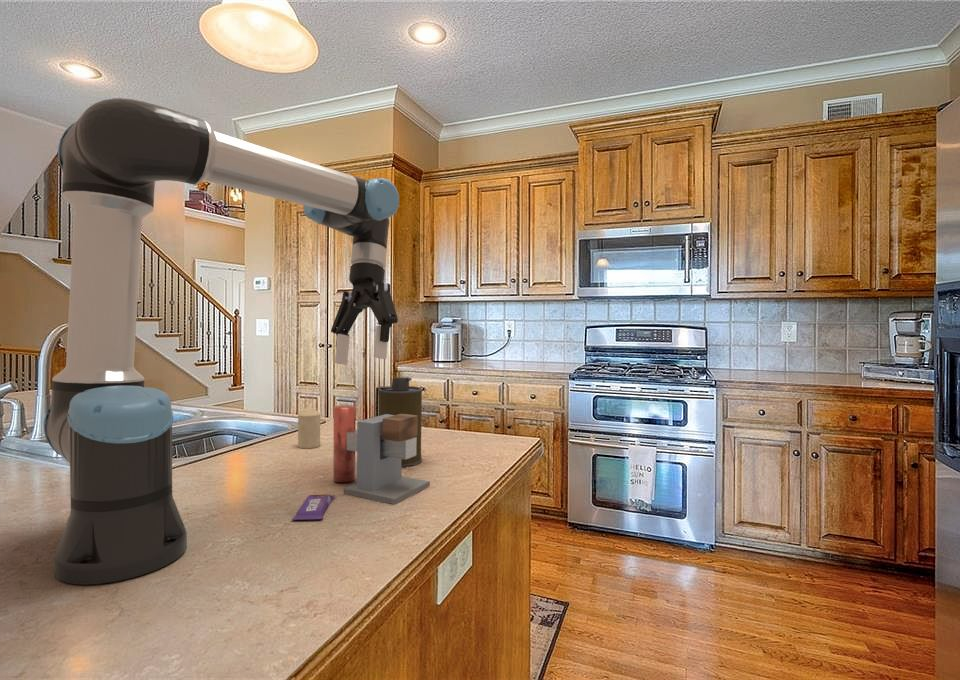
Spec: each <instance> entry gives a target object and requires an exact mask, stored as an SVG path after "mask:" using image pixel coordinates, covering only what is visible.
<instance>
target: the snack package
mask: <svg viewBox="0 0 960 680" xmlns="http://www.w3.org/2000/svg"><path fill="white" fill-rule="evenodd" d="M335 497H336V495H334V494H333V495H332V494H308V496H307V497H306V498H305V500H304V501H303V502H302V504H301V506H299V509H298V510H297V512H296V514H295V515H294V516H293V517H292V519H291V520H292V521H294V520H295V521H297V520H303V521H304V520H323V518H324V515H325V513H326V512H327V510H328V508H329V506H330V504H331V503H332V500H333V499H334V498H335Z"/></svg>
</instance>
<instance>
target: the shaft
mask: <svg viewBox="0 0 960 680" xmlns="http://www.w3.org/2000/svg"><path fill="white" fill-rule="evenodd" d="M356 410H357V409H356V405H353V404H352V405H351V404H349V405H348V404H344V405H343V404H342V405H341V404H340V405H336V406H333V446H332V447H333V448H332V449H333V455H332V456H333V457H332V458H333V459H332V460H333V468H332V469H333V471H332V473H333V481H334V482H338V483H339V482H340V483H344V482H345V483H347V482H352V481H354V480H355V479H356V453H357V429H356V422H357V421H356V416H357V415H356V412H357V411H356ZM416 443H417V437H412V438H409V439H406V440H403V441H400V442H398V441H391V440H384V439H382V434H381V435H380V456H386V457H392V458H399V459H405V460H406V459H409V458H411V457H414V456H416Z"/></svg>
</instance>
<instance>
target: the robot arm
mask: <svg viewBox="0 0 960 680" xmlns="http://www.w3.org/2000/svg"><path fill="white" fill-rule="evenodd" d="M57 158H58V163H59V167H60V168H61V171H62V184H61V185H62V188H61V189H62V190H61V197H62V198H63V199H64V200H65V201H66V202H67V203H68V204H69V205H70V206H71V207H72V209H73V227H72V244H71V245H72V246H71V261H70V265H71V266H70V283H69V286H70V287H69V301H68V321H67V322H68V323H67V336H66V337H67V338H66V339H67V340H66V341H67V342H66V356H65V361H66V362H65V367H64V368H63V369H62V370H60V371H59V372H58V373H57V374H55V375H54V376H53V377H52V381H51V394H50V395H51V397H50V405H49V406H48V409H47V411H45V416H44V418H43V434H44V437H45V439H46V442H47V443H48V445H49V447H51V449H52V450H53V451H54V452H55V453H56V454H57V455H59V456H60V457H62V458H63V459H64V460H66V461H67V462H68V463H69V487H70V491H69V492H70V495H69V496H70V511H69V516H68V518H67V521H66V524H65V527H64V530H63V532H62V534H61V535H62V536H61V538H60V540H59V544H58V546H57V548H56V551H55V554H54V558H53V559H54V562H53V563H54V564H53V566H54V567H53V568H54V576H55V578H56V579H58V580H59V581H61V582H63V583H67V584H73V585H101V584H107V583H116V582H120V581H126V580H129V579H132V578H136V577H140V576H143V575H146V574H149V573H152V572H155V571H157V570H159V569H161V568H164V567H166V566H168V565H169V564H172V563H173V562H175V561H176V560H177V559H179V558H180V557H181V556H182V555H183V554H184V553H185V552H186V550H187V548H188V545H187V543H188V539H187V537H188V534H187V529H186V526H185V524H184V521H183V519H182V516H181V514H180V511H179V509H178V506H177V503H176V501H175V498H174V495H173V421H174V412H173V410H172V402H171V398H170V396H169V395H168V394H167V393H166V392H165V391H163V390H160V389H158V388H155V387H149V386H146V387H145V377H144V376H143V375H142V374H141V373H140V372H139V371H138V370H137V369H136V368H135V355H136V353H135V352H136V332H137V331H136V330H137V317H138V316H137V315H138V297H139V279H140V277H139V275H140V260H141V259H140V256H141V238H142V237H141V236H142V220H143V219H144V218H145V217H146V216H147V215H149V214H151V213H152V212H154V208H155V207H154V204H155V202H154V201H155V190H156V189H155V185H156V182H160V181H172V182H179V183H186V184H189V185H195V186H198V185H199V184H201V183H202V182H208V183H213V184H216V185H217V184H218V185H222V186H226V187H228V188H229V187H230V188H233V189H238V190H241V191H246V192H250V193H253V194H257V195H258V194H259V195H262V196H264V197H265V196H266V197H270V198H274V199H278V200H282V201H287V202H290V203H293V204H294V203H295V204H297V205H303V206H302V208H303V209H302V210H303V213H304V215H305V217H306V218H307V219H309V220H311V221H312V222H315V223H317V224H319V225H322V226H325V227H327V228H329V229H332V230H335V231H338V232H340V233H343V234H345V235H347V236H349V237H352V248H351V254H350V264H351V266H350V268H349V276H348V280H349V283H351V285H352V290H351V291H350V292H349V291H345V290H344V291H343V293H342V297H341V301H340V305H339V307H338V310H337V312H336V313H337V314H336V316H335V318H334V320H333V323H332V326H331V329H330V332H331V333H333V334H335V335H336V341H335V354H334V355H335V356H334V363H335V364H338V365H344V366H347V365H348V357H349V350H350V349H349V348H350V336H351V335H349V332H350V331H351V329H352V327H353V325H354V323H355V321H356V320H357V318H358V316H359V314H360V313H362V312H363V311H364V310H366V309H368V308H370V310H371V311H372V313H373V315H374V317H375V319H376V321H377V322H376V326H375V336H374V348H373V358H377V359H381V360H387V353H388V342H389V341H390V334H391V333H390V332H391V331H390V329H391V327H392V326H393V325H394V324H397V323H398V321H399V318H398V315H397V311H396V308H395V304H394V301H393V297H392V293H391V283H387V282H386V281H385V273H386V269H385V267H386V259H387V245H388V237H389V236H388V235H389V226H390V218H391V217H392V216H395V214H396V213H397V211H398V209H399V207H400V195H399V192H398V189H397V187H396V186H395V184H394V183H393V182H392V181H391V180H390V179H386V178H385V177H384V178H383V177H379V178H376V177H375V178H371V179H368V180H367V179H364V178H361V177H359V176H355V175H351V174H347V173H345V172H343V171H342V172H341V171H339V170H337V169H336V170H335V169H332V168H329V167H326V166H323V165H320V164H317V163H315V162H314V163H313V162H311V161H307V160H304V159H303V158H302V159H301V158H299V157H296V156H292V155H289V154H287V153H283V152H281V151H278V150H274V149H271V148H268V147H264V146H262V145H258V144H256V143H252V142H249V141H246V140H242V139H241V138H237V137H234V136H232V135H228V134H224V133H222V132H218V131H215V130H214V129H212V128H211V126H210V124H209V122H207V120H204V119H201V118H198V117H196V116H195V117H194V116H192V115H190V114H188V113H187V114H186V113H183V112H180V111H178V110H174V109H171V108H167V107H164V106H161V105H157V104H153V103H150V102H146V101H142V100H137V99H131V98H122V97H120V98H118V97H117V98H108V99H103V100H100V101H98V102H95V103H93V104H91V106H89V107H88V108H86V109H85V110H84V111H83V113H82V114H81V116H80V117H79V118H78V119H77V120H76V121H75V122H73V123H71V124H70V125H69V126H68V127H66V129H65V131H64V132H63V133H62V135H61V137H60V139H59V142H58V149H57Z"/></svg>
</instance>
